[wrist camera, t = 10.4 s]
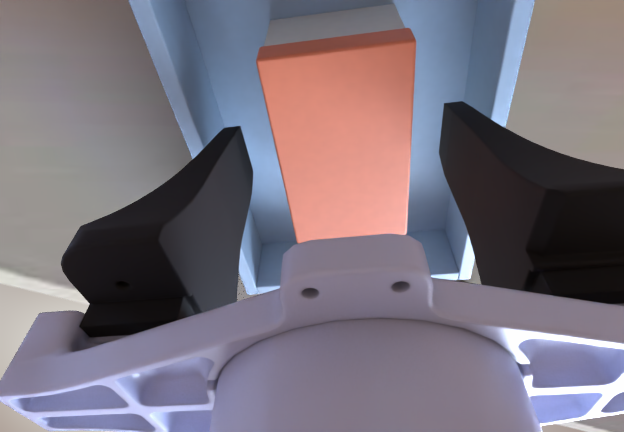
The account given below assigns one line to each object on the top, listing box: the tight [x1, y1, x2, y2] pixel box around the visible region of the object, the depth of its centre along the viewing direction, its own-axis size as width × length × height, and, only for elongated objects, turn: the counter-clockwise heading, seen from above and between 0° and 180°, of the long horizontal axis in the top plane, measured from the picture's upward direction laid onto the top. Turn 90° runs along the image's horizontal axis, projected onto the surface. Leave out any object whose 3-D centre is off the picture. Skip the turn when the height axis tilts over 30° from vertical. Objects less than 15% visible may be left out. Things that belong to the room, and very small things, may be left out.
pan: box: [128, 0, 535, 294], centre depth 16 cm, size 11×17×4 cm, turn 7°
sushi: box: [256, 4, 416, 243], centre depth 15 cm, size 4×8×4 cm, turn 7°
